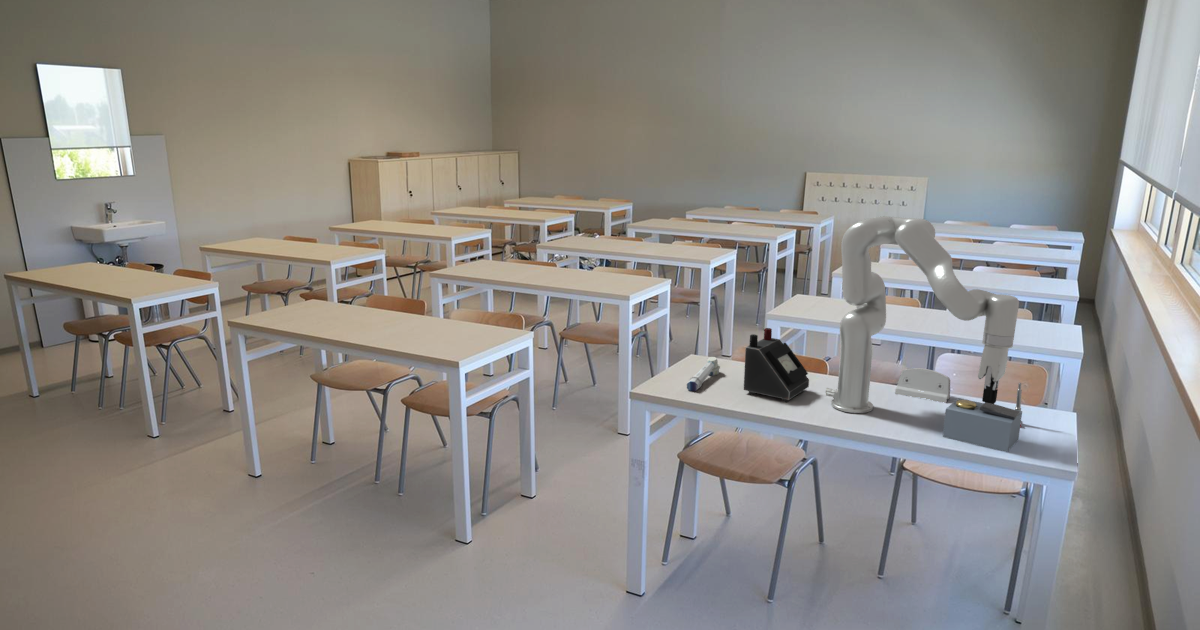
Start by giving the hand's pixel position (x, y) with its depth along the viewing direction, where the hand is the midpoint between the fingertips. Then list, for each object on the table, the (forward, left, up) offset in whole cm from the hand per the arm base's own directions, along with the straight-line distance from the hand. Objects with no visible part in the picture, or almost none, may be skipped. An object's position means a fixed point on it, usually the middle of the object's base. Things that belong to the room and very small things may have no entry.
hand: (988, 402), depth 217 cm
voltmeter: (-65, -2, -11) cm, 66 cm away
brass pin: (-6, 0, -11) cm, 13 cm away
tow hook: (0, +18, -12) cm, 21 cm away
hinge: (-26, +27, -12) cm, 40 cm away
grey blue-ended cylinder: (-90, -8, -12) cm, 91 cm away
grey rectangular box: (-1, 0, -11) cm, 11 cm away
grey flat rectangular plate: (+3, 0, -2) cm, 4 cm away
